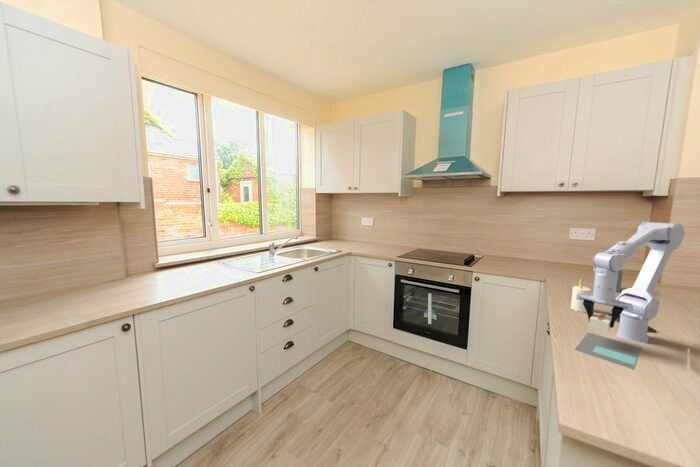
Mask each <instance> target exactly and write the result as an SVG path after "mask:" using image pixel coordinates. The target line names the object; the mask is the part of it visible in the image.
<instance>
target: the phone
mask: <svg viewBox="0 0 700 467" xmlns="http://www.w3.org/2000/svg"><path fill="white" fill-rule="evenodd" d="M607 315H608V316H612V313H607ZM615 322H617V323H620V315H619V316H618V317H617V319H616V321H615ZM656 332H657V330H656V329H655V328H653V327H651V326H649V325H648V329H647V333H656Z"/></svg>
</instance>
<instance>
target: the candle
mask: <svg viewBox="0 0 700 467" xmlns="http://www.w3.org/2000/svg"><path fill="white" fill-rule="evenodd" d="M571 291H572V293H571V302H570V303H571V304H570V309H571V310H572V309H573V311H574V310H575V312H578V311H579V312H578V313H587V311H586V309H585V307H584V305H583V302H584V300H577V299H576V297H577V294H578V293H579V294H585V295H591V288H589V287H585V286H584V283H583V279H582V278H580V279H579V284H578V286H577V285H575V286H572V290H571Z"/></svg>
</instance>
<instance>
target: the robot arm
mask: <svg viewBox="0 0 700 467" xmlns="http://www.w3.org/2000/svg"><path fill="white" fill-rule="evenodd" d="M684 237H685V228H684V226H683V225H682V224H681V223H678V222H677V223H676V222H675V223H670V222H668V223H667V222H650V221H644V222H641V223H640V224H639V225H638V227H637V232H635V233H634V234H633V235H632V236H631V237H630V238H628V239H627V240H626V241H625V240H624V241H623V240H622V241H618V242H617V243H615V244H614V245H612V246H611V247H610V248H608V249H607V250H606V251H604V252H598V253H595V254H594V256H593V257H592V260H591V264H592V266H593V272H594V280H593V292H592V293H593V294H590V295H585V294H579V293H578V294H577V297H576V299H577V300H584V302H583V305H584V307H585V309H586V311H587V312H586V314H587V320H588V322H589V321H590V317H591V316H592V315H593V314H594V307H595V304H599V305H603V306H609V307H612V309H611V314H612V317H611V323H610V327H611V329H613V328H614V326H615V322H617V321H616V319H617V317H618V316H619V315H620V323H619V322H618V323H619V324H618V330H617V332H616V334H615V337H617V338H620V339H624V340H627V341H631V342H634V343H637V344H638V343H639V344H642V345H645V346H647V344H648V341H649V336H648V335H647V334H648V332H647V329H648V326H649V320H652V319H654V318H655V317H656V316H657V315H658V312H659V306H660V303H661V302H660V300H659V299H658V298H657V296H656V295H654V294H653V293H654V291H655V288H656V287H657V284H658V282H659V281H660V278H661V276H662V274H663V272H664V271H665V268H666V266H667V263H668V262H669V260H670V257H671V255H672V253H673V252H674V250H678V249H679V247H680V245H681V243H682V242H683V239H684ZM644 245H645V246H647V247H648V248H649V250H650V251H649V252H648V255H647V257H646V259H645V261H644V263H643V265H642V267H641V269H640V272H639V273H638V276H637V277H636V280H635V281H634V284H633V286H632V287H629V288H626V289H622V291H621V293H620V294H619V295H618V296H617V297H616V294H617V292H616V286H617V278H618V271H620V270H623V269H624V266H625V264H627V261H628V260H630V259H631V258H632V257H633V256H635V255H636V254H637V253H638V249H639V248H640V247H642V246H644Z"/></svg>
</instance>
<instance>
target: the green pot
mask: <svg viewBox="0 0 700 467" xmlns="http://www.w3.org/2000/svg"><path fill="white" fill-rule="evenodd" d="M623 276H624V270H623V269H622V270H620V271H618V278H617V286H616V291H619V292H620V291H621V287H622V286H621V285H622V281H623Z"/></svg>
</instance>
